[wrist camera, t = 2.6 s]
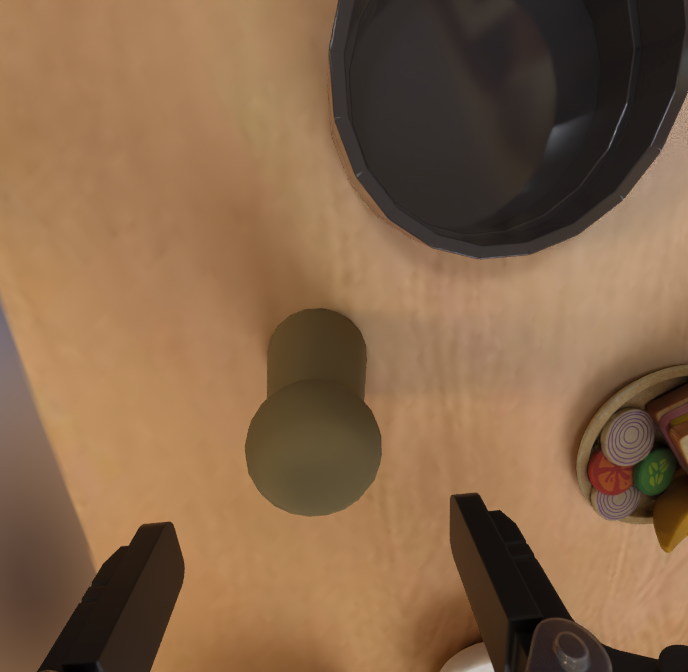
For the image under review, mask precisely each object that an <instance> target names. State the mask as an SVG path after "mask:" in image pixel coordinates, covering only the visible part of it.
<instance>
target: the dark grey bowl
mask: <svg viewBox="0 0 688 672" xmlns="http://www.w3.org/2000/svg"><path fill="white" fill-rule="evenodd" d="M327 87H328V99H329V112H330V124H331V135H332V139H333V141H334V144H335V147H336V149H337V152H338V154H339V157H340V160H341V162H342V165H343V168H344V170H345V173H346V175H347V178H348V180H349V182H350V184H351V185H352V186H353V187H354V189H355V190H356V191H357V192H358V194H359V195H360V196H361V197H362V199H363V200H364V201H365V203H366V204H367V205H368V206H369V208H370V209H371V210H372V211H373V213H374V214H375V215H376V216H377V217H378V218H380V219H381V220H383V221H384V222H386V223H388V224H389V225H391V226H392V227H394V228H395V229H397V230H398V231H400V232H401V233H403V234H404V235H406V236H407V237H409V238H411V239H413V240H415V241H418V242H420V243H422V244H424V245H427V246H429V247H431V248H434V249H438V250H442V251H446V252H450V253H454V254H458V255H462V256H467V257H471V258H475V259H491V258H503V257H514V256H525V255H530V254H533V253H535V252H538V251H540V250H543V249H545V248H548V247H550V246H552V245H555V244H557V243H560V242H562V241H565V240H567V239H570V238H572V237H574V236H577V235H578V234H580V233H581V232H583V231H584V230H585V229H586V228H588V227H589V226H590V225H592V224H593V223H594V222H595V221H597V220H598V219H599V218H601V217H602V216H603V215H604V214H606V213H607V212H608V211H610V210H611V209H612V208H613V207H615V206H616V205H617V204H619V203H620V202H621V201H622V199H624V198H625V197H626V196H627V194H628V193H629V192H630V191H631V189H632V188H633V187H634V185H635V184H636V183H637V182H638V180H639V179H640V178H641V177H642V175H643V174H644V173H645V171H646V170H647V169H648V168H649V166H650V165H651V164H652V162H653V161H654V160H655V159H656V157H657V156H658V155H659V153H660V151H661V150H662V149H663V146H664V144H665V142H666V140H667V137H668V135H669V133H670V131H671V129H672V126H673V124H674V122H675V120H676V118H677V115H678V113H679V111H680V109H681V107H682V104H683V102H684V100H685V98H686V96H687V93H688V0H338V4H337V9H336V15H335V20H334V25H333V30H332V35H331V41H330V46H329V55H328V82H327Z"/></svg>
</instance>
